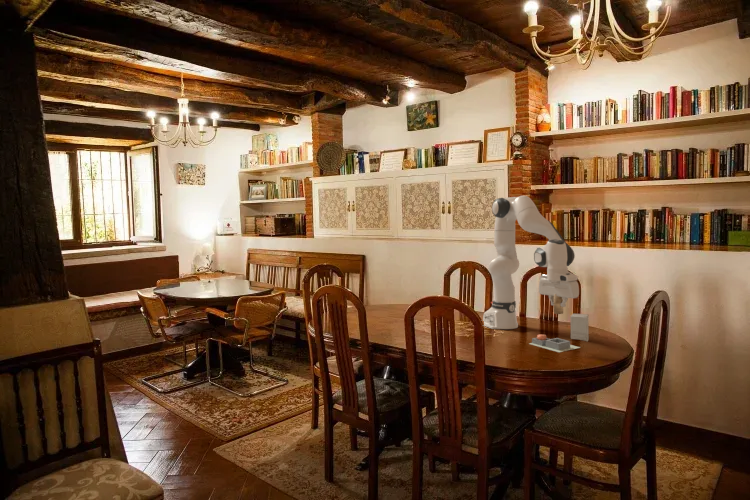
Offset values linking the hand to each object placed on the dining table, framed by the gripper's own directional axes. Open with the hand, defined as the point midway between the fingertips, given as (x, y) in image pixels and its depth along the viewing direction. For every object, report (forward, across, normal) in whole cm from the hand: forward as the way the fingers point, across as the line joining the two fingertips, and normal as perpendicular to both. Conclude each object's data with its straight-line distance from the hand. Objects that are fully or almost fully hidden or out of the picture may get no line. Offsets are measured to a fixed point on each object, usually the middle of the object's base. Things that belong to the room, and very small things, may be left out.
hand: (558, 306), depth 237 cm
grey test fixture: (+20, -3, 0) cm, 20 cm away
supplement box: (+21, -6, +21) cm, 30 cm away
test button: (+17, -8, -2) cm, 19 cm away
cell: (+3, 0, 0) cm, 3 cm away
